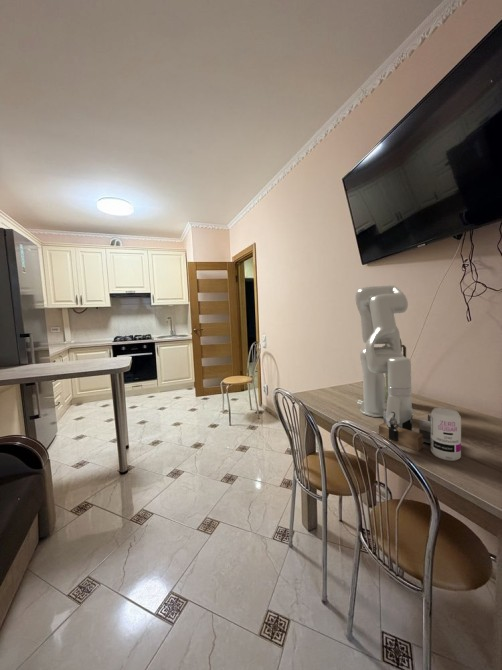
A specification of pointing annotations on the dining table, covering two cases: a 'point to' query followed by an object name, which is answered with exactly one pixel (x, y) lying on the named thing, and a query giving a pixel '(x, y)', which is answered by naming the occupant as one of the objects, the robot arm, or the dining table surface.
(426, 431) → the bracket stand
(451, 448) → the supplement can
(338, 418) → the dining table surface
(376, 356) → the robot arm
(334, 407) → the dining table surface
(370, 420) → the dining table surface
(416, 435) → the brown wooden block
